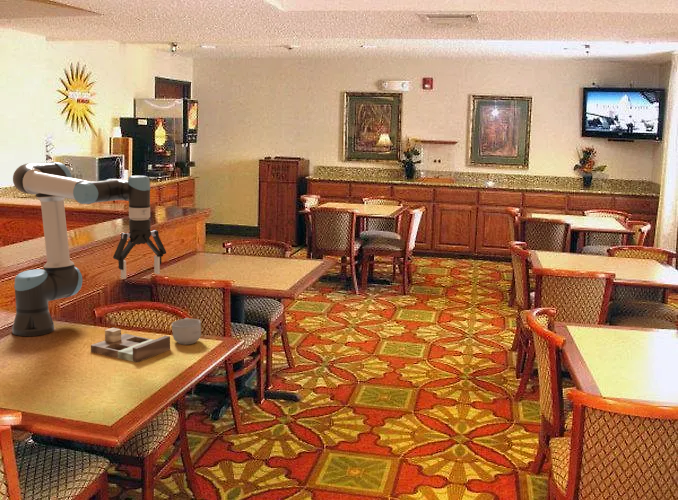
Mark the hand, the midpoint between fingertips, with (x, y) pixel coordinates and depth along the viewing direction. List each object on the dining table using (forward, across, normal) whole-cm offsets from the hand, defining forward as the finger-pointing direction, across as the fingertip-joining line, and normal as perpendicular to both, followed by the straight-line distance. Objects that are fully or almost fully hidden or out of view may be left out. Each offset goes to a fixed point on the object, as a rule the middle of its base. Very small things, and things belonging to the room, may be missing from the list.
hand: (140, 275), depth 278 cm
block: (+23, -10, +2) cm, 25 cm away
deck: (+26, -8, -6) cm, 27 cm away
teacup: (+26, +14, -9) cm, 31 cm away
